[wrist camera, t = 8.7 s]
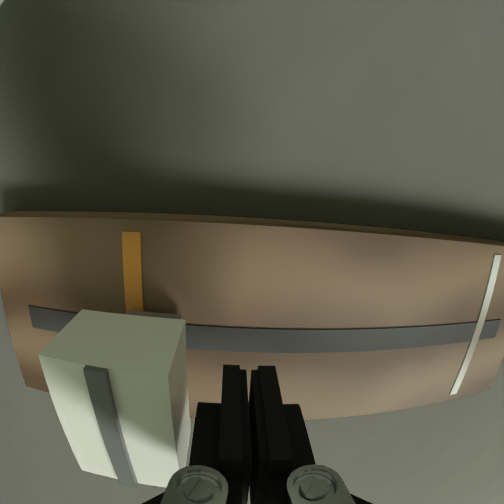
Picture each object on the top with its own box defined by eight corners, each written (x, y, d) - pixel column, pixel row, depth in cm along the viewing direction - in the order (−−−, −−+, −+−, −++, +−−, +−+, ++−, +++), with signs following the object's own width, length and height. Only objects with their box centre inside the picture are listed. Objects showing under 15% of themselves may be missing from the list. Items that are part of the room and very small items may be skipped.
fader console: (14, 211, 14) (-10, 217, 11) (514, 242, 15) (535, 250, 13) (40, 368, 16) (25, 386, 14) (474, 374, 18) (489, 389, 16)
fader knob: (112, 279, 12) (34, 358, 6) (196, 285, 13) (166, 381, 7) (124, 377, 14) (80, 473, 8) (197, 385, 14) (181, 493, 8)
